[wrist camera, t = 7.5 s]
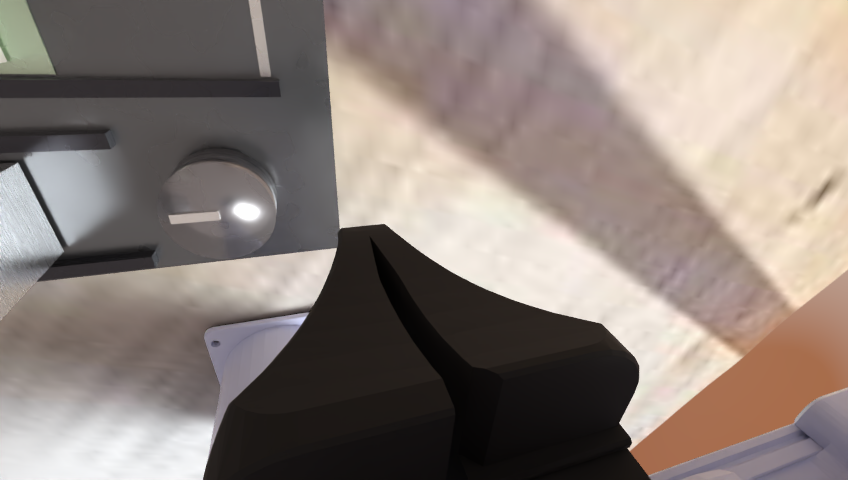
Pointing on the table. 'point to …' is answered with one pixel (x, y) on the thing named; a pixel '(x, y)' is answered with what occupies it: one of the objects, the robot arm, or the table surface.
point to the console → (161, 136)
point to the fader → (2, 56)
